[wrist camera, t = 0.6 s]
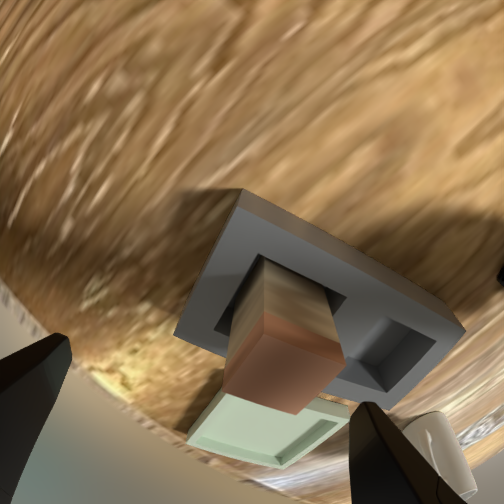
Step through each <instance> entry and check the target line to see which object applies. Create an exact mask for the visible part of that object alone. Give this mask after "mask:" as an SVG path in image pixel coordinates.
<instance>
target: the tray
mask: <svg viewBox="0 0 504 504" xmlns="http://www.w3.org/2000/svg"><path fill="white" fill-rule="evenodd" d="M221 390H222V387H221V389H220V390H219V391H218V393H217V394H216V395H215V397H214V398H213V399H212V401H211V402H210V403H209V405H208V406H207V407H206V408H205V410H204V411H203V412H202V414H201V415H200V416H199V418H198V419H197V420H196V421H195V423H194V424H193V425H192V426H191V428H190V429H189V430H188V434H187V438H186V443H185V444H188V445H191V446H194V447H197V448H200V449H203V450H207V451H210V452H213V453H217V454H220V455H224V456H227V457H231V458H235V459H238V460H242V461H246V462H251V463H255V464H259V465H264V466H269V467H274V468H279V469H285V468H287V467H288V466H290V465H291V464H293V463H294V462H296V461H297V460H299V459H300V458H301V457H303V456H304V455H306V454H307V453H309V452H310V451H311V450H313V449H314V448H315V447H317V446H318V445H319V444H321V443H322V442H324V441H325V440H326V439H327V438H329V437H330V436H331V435H333V434H334V433H335V432H336V431H338V430H339V429H340V428H341V427H343V426H344V425H345V424H346V423H348V422H349V421H350V414H349V410H348V406H346V405H343V404H339V403H335V402H332V401H328V400H325V399H321V398H318V397H315V398H314V399H313V400H312V401H311V402H310V403H309V404H308V405H307V406H306V407H305V408H304V409H303V410H302V411H300V412H299V413H298V414H297V415H293V414H289V413H286V412H282V411H279V410H275V409H272V408H269V407H265V406H262V405H259V404H256V403H253V402H250V401H247V400H244V399H241V398H238V397H235V396H232V395H230V394H227V393H224V392H221Z"/></svg>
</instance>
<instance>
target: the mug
mask: <svg viewBox="0 0 504 504" xmlns="http://www.w3.org/2000/svg"><path fill="white" fill-rule="evenodd" d="M402 433H403V434H404V435H405V437H406V438H407V439H408V440H409V441H410V442H411V443H412V445H413V446H414V447H415V448H416V449H417V450H418V451H419V452H420V454H421V455H422V456H423V457H424V458H425V459H426V460H427V462H428V463H429V464H430V465H431V466H432V467H433V468H434V469H435V471H436V472H437V473H438V474H439V476H441V477H442V478H443V479H444V481H445V482H446V483H447V484H448V485H449V486H450V487H451V488H452V489H453V490H454V491H455V492H456V493H457V494H458V495H459V496H460V497H461V498H462V499H463V500H464V501H465V500H466V499H468V498H470V497H471V496H472V495H474V494H475V493H476V492H477V490H478V489H477V486H476V483H475V480H474V477H473V475H472V472H471V470H470V468H469V465H468V463H467V460H466V458H465V456H464V453H463V451H462V449H461V447H460V444H459V442H458V440H457V438H456V435H455V433H454V431H453V429H452V427H451V425H450V423H449V421H448V419H447V417H446V415H445V414H444V413H443V412H432V413H429V414H426V415H424V416H421V417H419V418H418V419H416V420H414V421H413V422H411V423H410V424H409V425H408V426H406V427H405V429H404V430H403V431H402Z"/></svg>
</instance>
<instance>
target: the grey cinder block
mask: <svg viewBox="0 0 504 504" xmlns="http://www.w3.org/2000/svg"><path fill="white" fill-rule="evenodd" d="M261 255H263V256H265V257H267V258H269V259H271V260H273V261H275V262H277V263H279V264H281V265H283V266H285V267H287V268H289V269H291V270H293V271H295V272H297V273H299V274H301V275H303V276H305V277H308V278H310V279H312V280H314V281H316V282H318V283H320V284H322V285H323V288H324V291H325V294H326V298H327V301H328V304H329V307H330V311H331V314H332V317H333V320H334V324H335V327H336V331H337V334H338V337H339V341H340V344H341V348H342V351H343V355H344V358H345V362H346V367H345V368H344V369H343V370H342V371H341V372H340V373H339V374H338V375H337V376H336V377H335V378H334V379H333V380H332V381H331V382H330V383H329V384H328V385H327V386H326V387H325V388H324V389H323V390H322V391H321V392H323V393H327V394H330V395H333V396H337V397H340V398H344V399H347V400H351V401H355V402H358V403H361V402H363V401H371V402H375V403H376V404H377V405H378V406H379V407H380V408H382V409H386V410H390V409H391V408H392V407H394V406H395V405H396V404H397V403H398V402H399V401H400V400H401V399H402V398H404V397H405V396H406V395H407V394H408V393H409V392H410V391H411V390H412V389H413V388H414V387H415V386H416V385H417V384H418V383H419V382H420V381H421V380H422V379H423V378H424V377H425V376H426V375H427V374H428V373H429V372H430V371H431V370H432V369H433V368H434V367H435V366H436V365H437V364H438V363H439V362H440V361H441V360H442V359H443V358H444V356H445V355H446V354H447V353H448V352H449V351H450V350H451V349H452V348H453V346H454V345H455V344H456V343H457V342H458V341H459V339H460V338H461V337H462V336H463V335H464V333H465V332H466V330H465V328H464V327H463V326H462V324H461V323H460V322H459V320H458V319H457V318H456V317H455V315H454V314H453V313H452V311H451V310H450V309H449V308H448V306H447V305H446V304H445V303H444V302H443V301H442V300H440V299H439V298H437V297H435V296H434V295H432V294H431V293H429V292H427V291H426V290H424V289H423V288H421V287H419V286H418V285H416V284H414V283H413V282H411V281H410V280H408V279H406V278H405V277H403V276H401V275H400V274H398V273H396V272H395V271H393V270H391V269H390V268H388V267H386V266H384V265H383V264H381V263H379V262H378V261H376V260H374V259H373V258H371V257H369V256H367V255H366V254H364V253H362V252H360V251H359V250H357V249H355V248H353V247H352V246H350V245H348V244H346V243H345V242H343V241H341V240H339V239H337V238H336V237H334V236H332V235H330V234H328V233H327V232H325V231H323V230H321V229H319V228H317V227H316V226H314V225H312V224H310V223H308V222H306V221H305V220H303V219H301V218H299V217H297V216H295V215H293V214H291V213H290V212H288V211H286V210H284V209H282V208H280V207H278V206H276V205H274V204H272V203H270V202H269V201H267V200H265V199H263V198H261V197H259V196H257V195H255V194H253V193H251V192H249V191H247V190H245V189H242V191H241V193H240V195H239V197H238V199H237V201H236V203H235V204H234V206H233V208H232V210H231V212H230V214H229V216H228V218H227V220H226V222H225V224H224V226H223V228H222V230H221V232H220V234H219V236H218V238H217V240H216V242H215V244H214V246H213V248H212V250H211V252H210V254H209V256H208V258H207V260H206V262H205V264H204V266H203V268H202V270H201V272H200V274H199V276H198V278H197V280H196V282H195V284H194V286H193V288H192V290H191V292H190V294H189V296H188V299H187V301H186V303H185V306H184V308H183V311H182V313H181V316H180V318H179V321H178V323H177V326H176V328H175V331H174V334H173V335H174V336H176V337H178V338H180V339H182V340H185V341H187V342H189V343H191V344H194V345H196V346H198V347H201V348H203V349H205V350H208V351H210V352H212V353H215V354H217V355H220V356H222V357H225V358H226V357H227V351H228V344H229V338H230V331H231V325H232V318H233V312H234V306H235V299H236V297H237V295H238V294H239V292H240V290H241V289H242V287H243V285H244V284H245V282H246V280H247V278H248V277H249V275H250V273H251V272H252V270H253V268H254V266H255V265H256V263H257V261H258V260H259V258H260V256H261Z"/></svg>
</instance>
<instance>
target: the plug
mask: <svg viewBox="0 0 504 504" xmlns="http://www.w3.org/2000/svg"><path fill="white" fill-rule="evenodd" d="M345 367H346V362H345V358H344V355H343V351H342V348H341V344H340V341H339V337H338V334H337V331H336V327H335V324H334V320H333V317H332V314H331V311H330V307H329V304H328V301H327V298H326V294H325V291H324V288H323V285H322V284H320V283H318V282H316V281H314V280H312V279H310V278H308V277H305V276H303V275H301V274H299V273H297V272H295V271H293V270H291V269H289V268H287V267H285V266H283V265H281V264H279V263H277V262H275V261H273V260H271V259H269V258H267V257H265V256H263V255H261V256H260V258H259V260H258V261H257V263H256V265H255V266H254V268H253V270H252V272H251V273H250V275H249V277H248V278H247V280H246V282H245V284H244V285H243V287H242V289H241V290H240V292H239V294H238V295H237V297H236V299H235V306H234V312H233V318H232V325H231V331H230V338H229V344H228V351H227V357H226V364H225V370H224V377H223V384H222V390H221V392H224V393H227V394H230V395H232V396H235V397H238V398H241V399H244V400H247V401H250V402H253V403H256V404H259V405H262V406H265V407H269V408H272V409H275V410H279V411H282V412H286V413H289V414H293V415H297V414H298V413H299V412H300V411H302V410H303V409H304V408H305V407H306V406H307V405H308V404H309V403H310V402H311V401H312V400H313V399H314V398H315V397H316V396H317V395H318V394H319V393H320V392H321V391H322V390H323V389H324V388H325V387H326V386H327V385H328V384H329V383H330V382H331V381H332V380H333V379H334V378H335V377H336V376H337V375H338V374H339V373H340V372H341V371H342V370H343V369H344V368H345Z"/></svg>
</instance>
